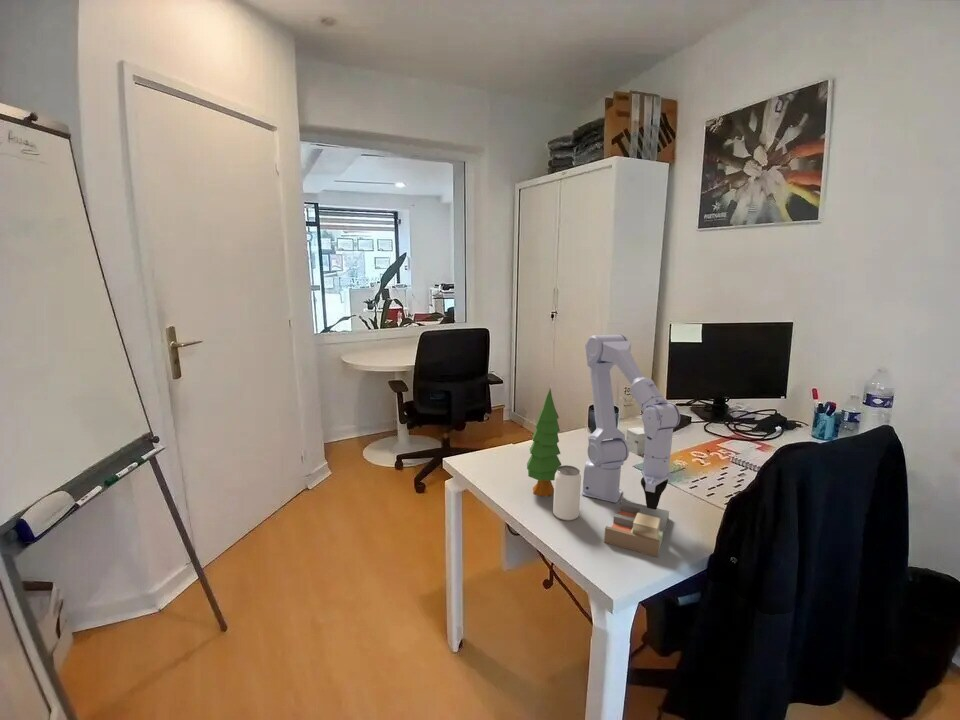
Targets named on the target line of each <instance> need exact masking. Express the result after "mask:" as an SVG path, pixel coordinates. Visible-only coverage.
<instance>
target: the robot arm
mask: <svg viewBox="0 0 960 720" xmlns="http://www.w3.org/2000/svg"><path fill="white" fill-rule="evenodd" d="M631 346H632V344H631V343H630V342H629V339H628V337H627V336H626V335H625V334H623V333H619V334H607V335H606V334H605V335H602V334H601V335H597V334H593V335H590V337H589V338H588V340H587V342H586V344H585V346H584V347H585V354H586V355H585V356H586V364H587V366H588V367H589V375H590V384H591V393H592V402H593V410H594V418H595V419H594V420H595V426H596V427H595V428H596V429H595V430H594V431H593V432H592V433H591V434H590V435H589V436H588V438H587V439H588V446H587V456H588V459H587V460H586V463H585V464H584V469H583V479H582V492H581V495H583V496H585V497H591V498H593V499H594V498H595V499H598V500H603V501H607V502H610V503H618V501H619V499H620V497H621V495H622V494H623V491H624V490H623V489H622V488H620V483H621V472H622V466H624V464H625V463H624V462H626V461H627V460H628V458H629V455H630V451H629V448H628V445H627V443H626V435H625V433H624V432H622V431H621V430H620V429H618V427H617V421H616V413H615V406H614V405H615V404H614V396H613V395H614V394H613V388H612V379H611V370H612V368H613V366H614V365H615V366H617V368H618V369H619V370H620V371H621V373H622V374H623V376H624V377H625V378H626V380H628V382H629V383H630V388H629V392H630V393H631V395H632V397H633V399H634V400H635V402H636V404H637V405H638V407H639V408H640V410H641V411H642V413H641V421H642V423H643V426H644V427H643V429H644V432H645V435H646V439H645V450H644V454H643V463H642V468H641V475H642V478H641V479H640V485H641V487H642V489H643V492H644V497H645V504H646V506H647V508H650V509H654V510H656V509H657V508H658V506H659V503H660V500H661V496H662V494H663V492H664V491H665V490H666V488H667V485H668V482H669V480H673V479H674V476H675V475H674V473H672V472H670V462H671V452H672V443H673V433H674V428H676V427H678V426H679V424H680V421H681V412H680V410H679V408H678V406H677V405H676V403H674V402H671V401H669V400H668V399H665V398H664V396H663V395H662V393H661V392H660V390H659V389H658V387H657V386H656V384H655V382H654V380H653V379H651V378H649V377H644V374H643V373H642V371H641V369H640V367H639V366H638V364H637V362H636V360H635V359H634V357H633V354H632V353H631V350H632V347H631Z"/></svg>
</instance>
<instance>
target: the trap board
mask: <svg viewBox="0 0 960 720" xmlns="http://www.w3.org/2000/svg"><path fill="white" fill-rule="evenodd" d="M637 513H641V514H645V515H649V516H653V517H657V518H660V528H659V536H658V539H653V538H649V537H646V536H642V535H638V534H634V533H632V532H633V522H634V520H635V517H636V515H637ZM669 517H670V510H667V509H662V508H658V507H657V509H656V510H654V509H650V508H647V505H644V504H641V503H636V502H634V501H629V500H625V499H624V500H623V499H622V500H621V501H620V504H619V511H618V513H614V515H613V520H612V522H613V524H611V525H612V526H608V525H606V526H605V527H604V529H605V530H604V539H603V540H604V541H603V542H604V543H606V544H610V545H613V546H617V547H620V548H623V549H627V550H631V551H634V552H638V553H641V554H645V555H648V556H652V557H656V558H658V557H659V553H660V551H661V550H660V549H661V546H662V542H663V540H664V535H665V532H666V529H667V525H668V521H669Z"/></svg>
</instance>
